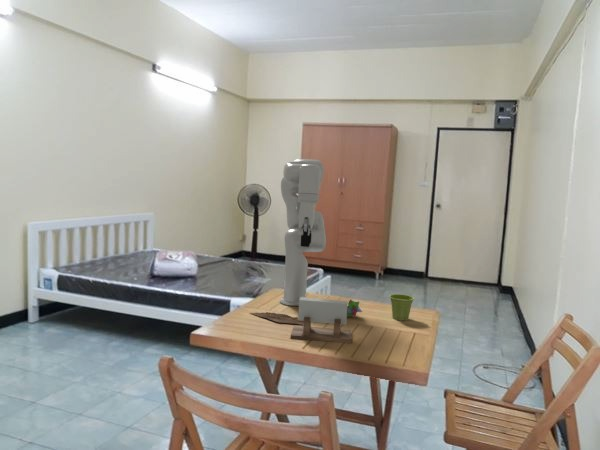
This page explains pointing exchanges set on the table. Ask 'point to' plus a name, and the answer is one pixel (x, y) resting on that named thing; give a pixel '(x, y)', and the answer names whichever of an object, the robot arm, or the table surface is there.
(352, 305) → the geometric puzzle
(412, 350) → the table surface
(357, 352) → the table surface
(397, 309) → the plant pot
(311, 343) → the table surface
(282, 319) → the wooden fragment
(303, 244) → the robot arm
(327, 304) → the clay bar
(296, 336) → the wooden display stand
